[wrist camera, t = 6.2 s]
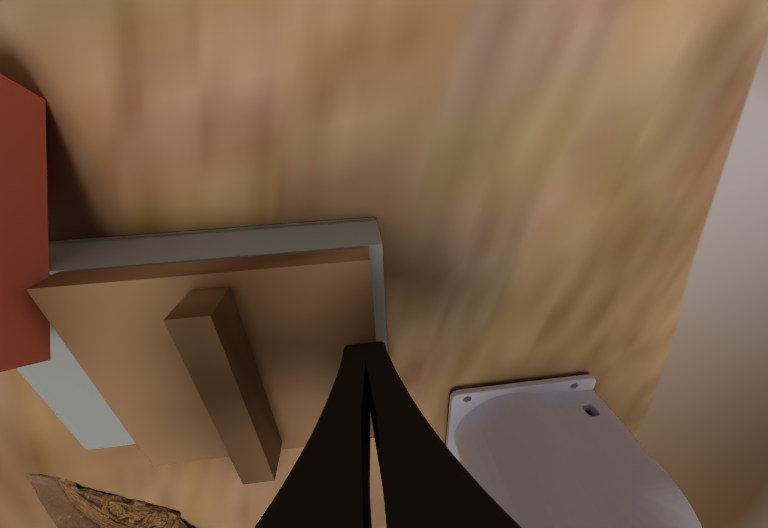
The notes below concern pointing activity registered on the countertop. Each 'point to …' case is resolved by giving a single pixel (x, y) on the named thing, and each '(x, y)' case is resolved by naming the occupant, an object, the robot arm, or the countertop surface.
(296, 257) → the lid
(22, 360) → the red block
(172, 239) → the gray box
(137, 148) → the countertop surface
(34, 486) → the wooden fragment
